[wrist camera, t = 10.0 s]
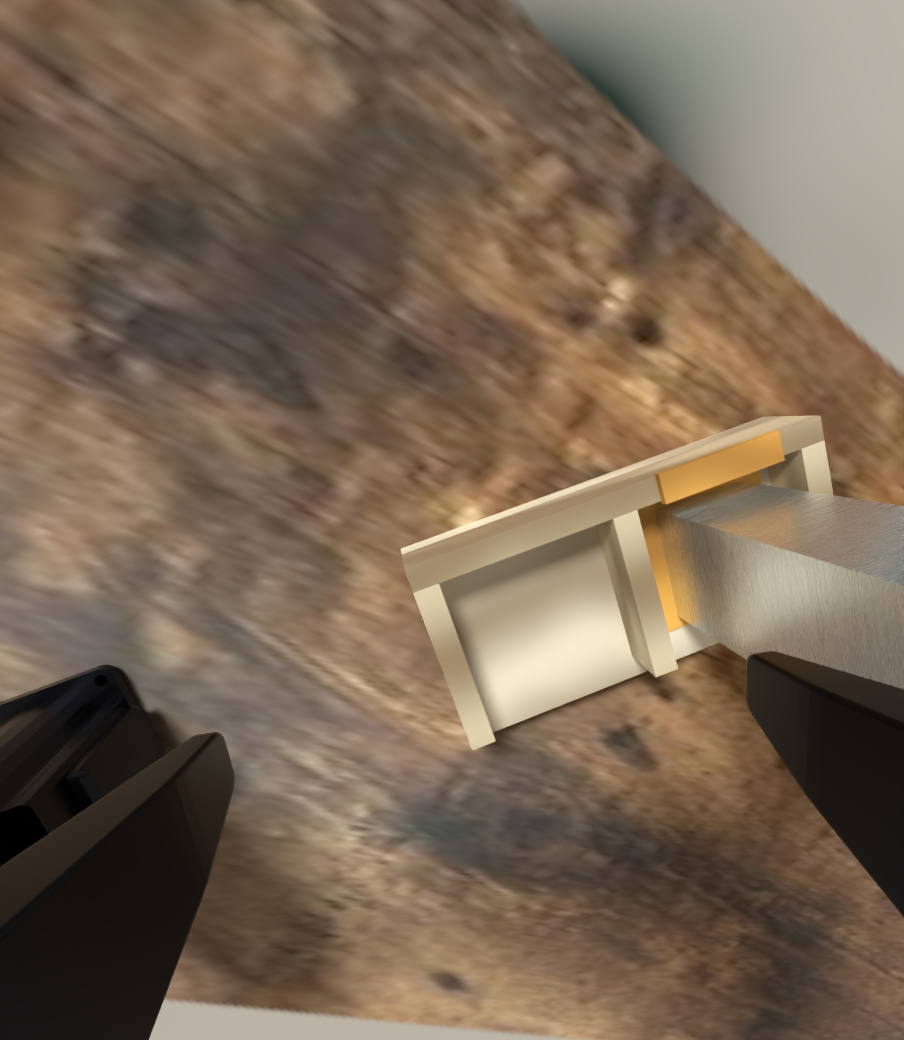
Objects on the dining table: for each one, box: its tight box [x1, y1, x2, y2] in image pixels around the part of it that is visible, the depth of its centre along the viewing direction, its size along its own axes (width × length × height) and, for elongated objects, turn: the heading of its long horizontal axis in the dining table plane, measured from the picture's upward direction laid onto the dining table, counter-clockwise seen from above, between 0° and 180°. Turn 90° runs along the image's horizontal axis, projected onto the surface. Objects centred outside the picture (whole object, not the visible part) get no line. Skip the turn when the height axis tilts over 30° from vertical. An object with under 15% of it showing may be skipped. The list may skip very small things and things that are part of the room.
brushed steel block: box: [655, 481, 904, 689], centre depth 16 cm, size 4×5×13 cm
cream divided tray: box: [401, 416, 833, 750], centre depth 21 cm, size 9×17×3 cm, turn 109°
